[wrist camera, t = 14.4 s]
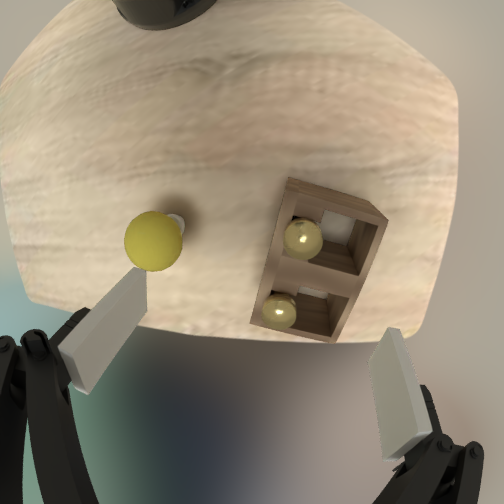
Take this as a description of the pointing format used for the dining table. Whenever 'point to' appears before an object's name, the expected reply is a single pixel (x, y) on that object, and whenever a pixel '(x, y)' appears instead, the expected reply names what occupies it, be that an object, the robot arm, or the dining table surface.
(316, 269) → the keyhole block
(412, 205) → the dining table surface
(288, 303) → the post
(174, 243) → the light bulb
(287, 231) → the post
